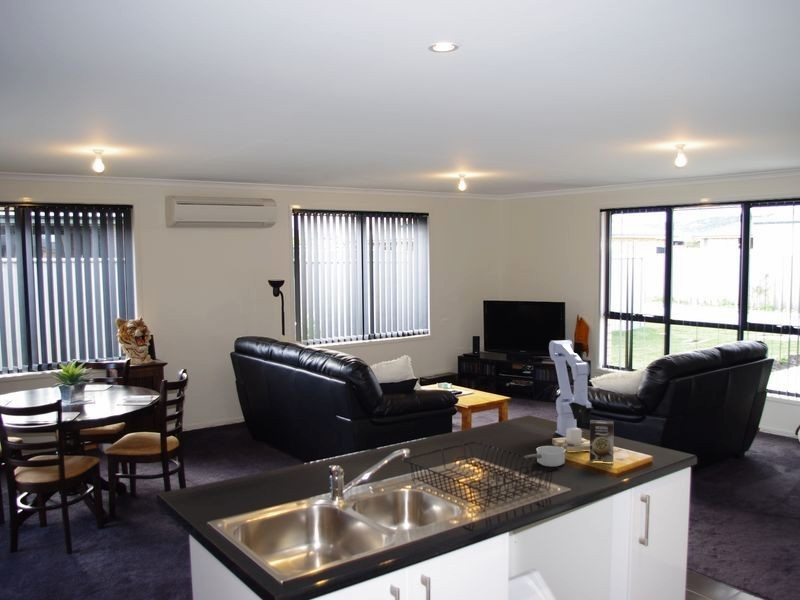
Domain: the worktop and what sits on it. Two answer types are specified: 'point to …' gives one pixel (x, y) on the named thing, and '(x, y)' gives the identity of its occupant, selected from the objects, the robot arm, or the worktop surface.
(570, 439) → the plug
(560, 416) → the robot arm
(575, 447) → the socket
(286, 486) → the worktop surface
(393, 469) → the worktop surface
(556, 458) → the saucepan
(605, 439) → the coffee box
